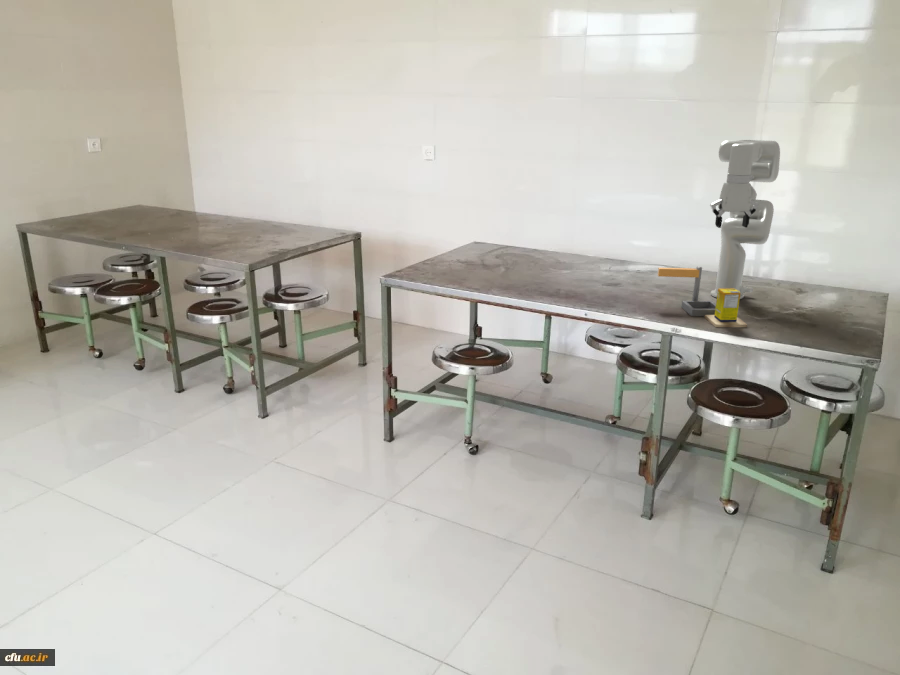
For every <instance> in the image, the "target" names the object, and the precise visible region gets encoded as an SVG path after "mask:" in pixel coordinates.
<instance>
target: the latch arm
mask: <svg viewBox="0 0 900 675" xmlns="http://www.w3.org/2000/svg"><path fill="white" fill-rule="evenodd" d="M702 269H703V267H702V266H696V267H695V268H691V267H690V268H689V267H686V268H685V267H657V276H658V277H664V278H665V277H666V278H668V277H669V278H670V277H671V278H694V283H693V284H694V285H693V292H692V298H691V299H692V300H691V301H699V294H700V286H701V279H702V271H703V270H702Z"/></svg>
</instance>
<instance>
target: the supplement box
mask: <svg viewBox="0 0 900 675" xmlns="http://www.w3.org/2000/svg"><path fill="white" fill-rule="evenodd" d="M740 300H741V299H740V292H739V291H737V290H736V289H734V288H718V294H717V298H716V303H715V304H716V309H715V316H714V317H715V318H716V319H717V320H719V321H720V322H736V321H737V317H738V315H739V314H738V313H739V308H740V307H739V306H740Z"/></svg>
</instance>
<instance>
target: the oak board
mask: <svg viewBox="0 0 900 675" xmlns="http://www.w3.org/2000/svg"><path fill="white" fill-rule="evenodd" d="M714 316H715V315H705V316H703V317H704V319H705V320H707V321H708V322H709V323H710V324H711V325H713V327H715V328H747V327H748V324H747V323H746V322H744V320H742V319H741V318H740V317H738V316H737V321H736V322H720V321H719V320H717V319H716V318H715V317H714Z"/></svg>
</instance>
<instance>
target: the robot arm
mask: <svg viewBox="0 0 900 675" xmlns="http://www.w3.org/2000/svg"><path fill="white" fill-rule="evenodd" d="M718 158H719V160H720V162H722V163H723V162H724V163H728V168H727V176H726V182H724V183H723V185H722V188H721V191H720V194H719V199H718V200H716V201H714V202H712V203H710V205H709V206H710V209H711V212H712V213H713V214H714V215H715V220H714V221H715V224H714V225H715V227H717V228H719V229H720V235H721V236H720V239H721V240H720V241H721V243H720V253H719V260H718V268H717V273H716V274H717V275H716V281H715V289H712V290H711V291H710V296H712V297H714V298H716V299H717V294H718V288H734V289H736V290H737V291H739V292H740V300H742V299H744V297H745V293H753V292H754V288H753V287H747V286H743V285H742V283H743V276H744V269H745V265H746V264H745V262H746V256H747V254H746V250H745V249H744V247H743V246H742V244H747V245H763V244H766V242H767V241H768V240H769V236H770V233H771V232H770V231H771V228H772V227H771V226H772V222H773V217H774V204H773V203H772V201H769V200H765V199H757V196H758V195H757V191H756V190H755V188H754V187H753V186H752V185H751V182H753V183H773V182H774V181H776V180H777V178H778V176H779V170H780V161H781V160H780V158H781V148H780V144H779V142H778V141H775V140H762V139H761V140H758V139H741V140H724V141H722V142H721V144H720V147H719V148H718ZM717 207H718V209H717ZM725 212H726V213H727V212H728V213H729V218H727V219H724V221H723V214H725Z"/></svg>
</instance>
